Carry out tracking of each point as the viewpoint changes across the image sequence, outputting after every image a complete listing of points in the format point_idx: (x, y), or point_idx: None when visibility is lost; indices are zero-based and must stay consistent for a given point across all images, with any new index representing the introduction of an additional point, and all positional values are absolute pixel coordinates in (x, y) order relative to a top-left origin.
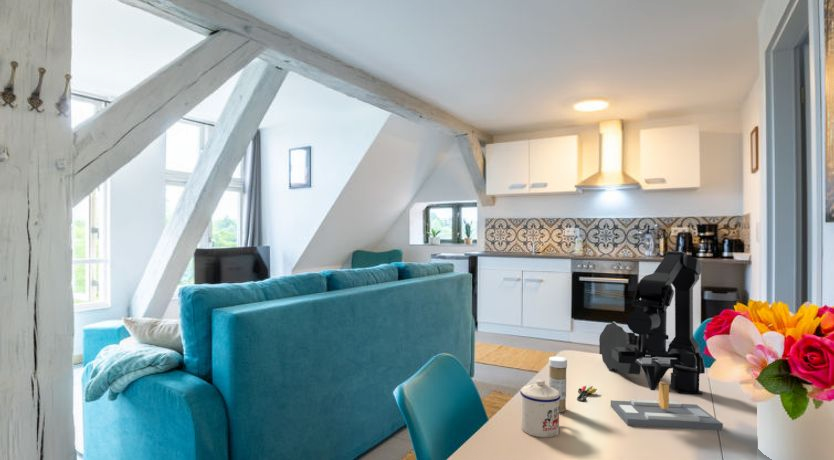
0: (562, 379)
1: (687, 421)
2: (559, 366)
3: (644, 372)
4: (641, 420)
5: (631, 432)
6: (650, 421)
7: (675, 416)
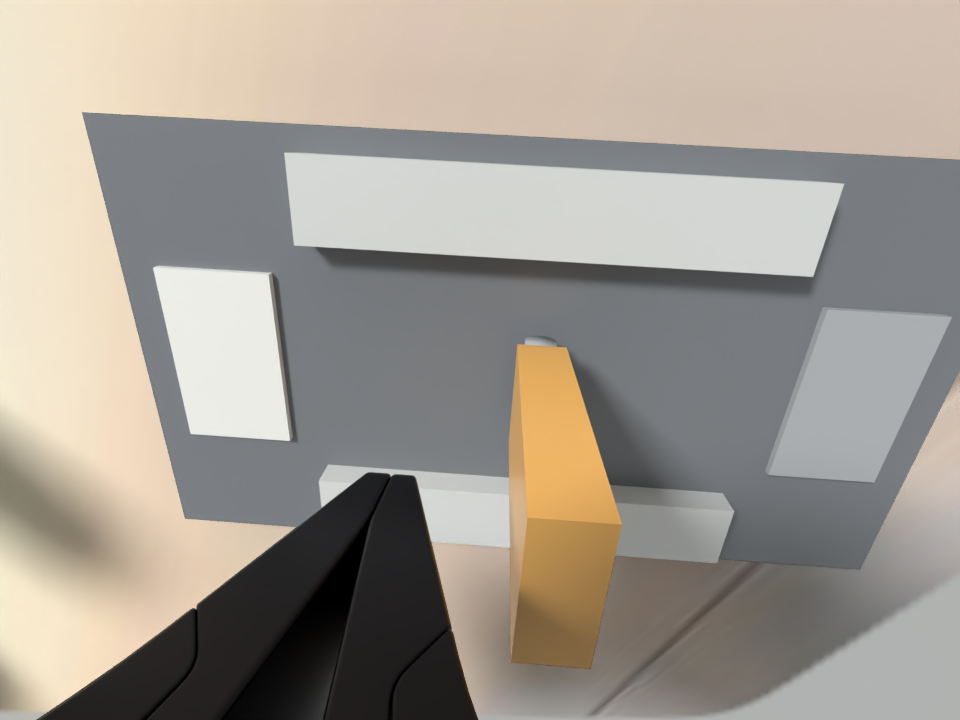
0: None
1: None
2: None
3: (116, 676)
4: (285, 520)
5: (217, 564)
6: None
7: None
